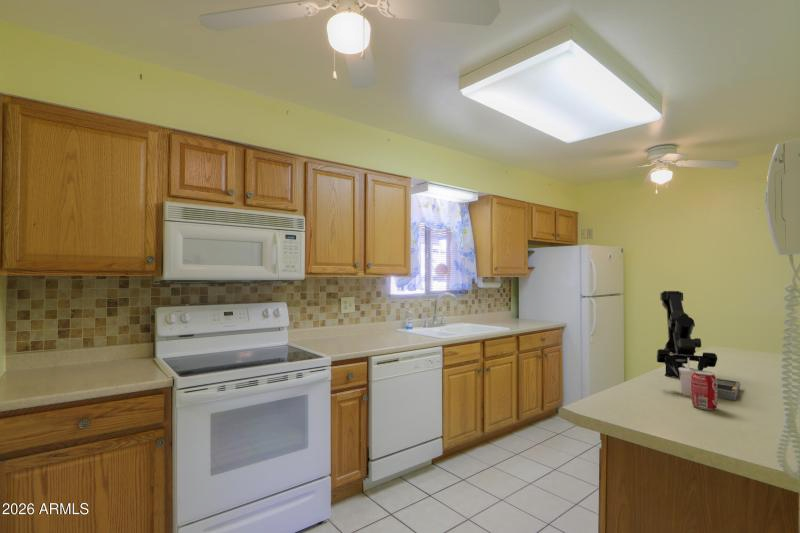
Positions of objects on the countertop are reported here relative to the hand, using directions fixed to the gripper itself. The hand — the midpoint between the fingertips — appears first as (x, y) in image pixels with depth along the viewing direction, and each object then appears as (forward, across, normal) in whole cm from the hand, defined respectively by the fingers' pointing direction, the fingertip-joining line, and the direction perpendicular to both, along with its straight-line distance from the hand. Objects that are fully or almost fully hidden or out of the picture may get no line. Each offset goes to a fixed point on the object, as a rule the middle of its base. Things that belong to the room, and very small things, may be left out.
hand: (689, 376), depth 149 cm
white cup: (+4, 0, +6) cm, 7 cm away
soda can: (+15, +2, -5) cm, 16 cm away
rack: (-3, +12, +13) cm, 18 cm away
